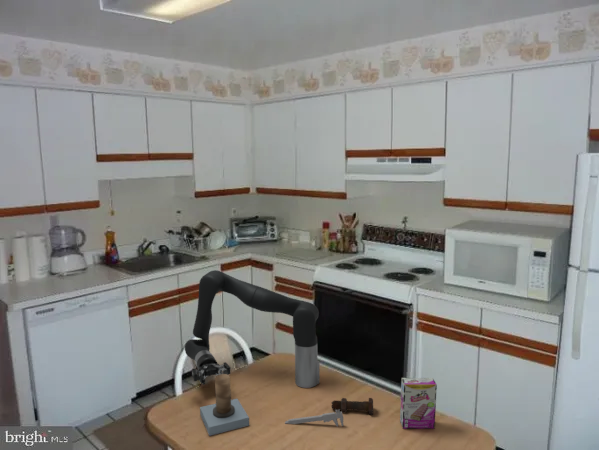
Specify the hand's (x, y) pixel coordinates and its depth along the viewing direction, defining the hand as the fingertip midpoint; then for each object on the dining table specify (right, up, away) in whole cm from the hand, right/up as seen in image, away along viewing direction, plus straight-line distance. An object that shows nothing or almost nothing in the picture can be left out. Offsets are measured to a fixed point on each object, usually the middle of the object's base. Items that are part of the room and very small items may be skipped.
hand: (215, 379), depth 169 cm
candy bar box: (+72, -11, -13) cm, 74 cm away
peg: (+5, -11, -8) cm, 15 cm away
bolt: (+51, -11, -3) cm, 52 cm away
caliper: (+36, -12, -12) cm, 40 cm away
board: (+5, -11, -9) cm, 15 cm away
